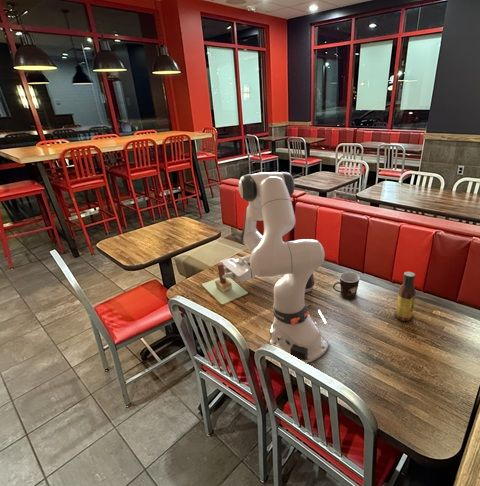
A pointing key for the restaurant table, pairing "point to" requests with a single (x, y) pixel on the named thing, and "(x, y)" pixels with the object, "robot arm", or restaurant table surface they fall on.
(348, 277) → the coffee mug
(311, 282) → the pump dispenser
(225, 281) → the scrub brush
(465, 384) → the restaurant table surface
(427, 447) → the restaurant table surface
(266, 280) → the restaurant table surface
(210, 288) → the scrub mat
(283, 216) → the robot arm
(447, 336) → the restaurant table surface
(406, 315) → the sauce bottle
